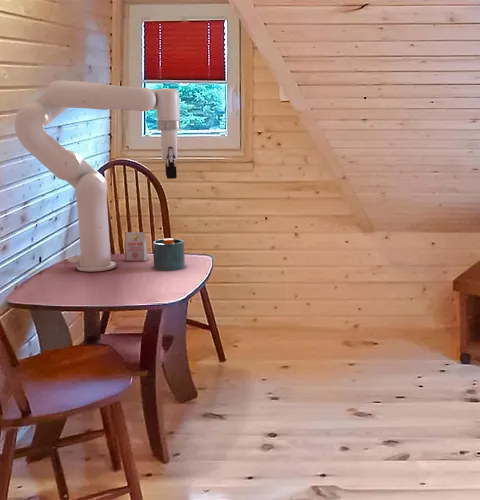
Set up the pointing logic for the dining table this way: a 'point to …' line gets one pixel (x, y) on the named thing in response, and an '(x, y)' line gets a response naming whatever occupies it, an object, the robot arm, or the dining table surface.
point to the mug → (168, 255)
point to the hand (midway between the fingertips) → (171, 177)
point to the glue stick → (168, 241)
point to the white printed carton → (135, 246)
